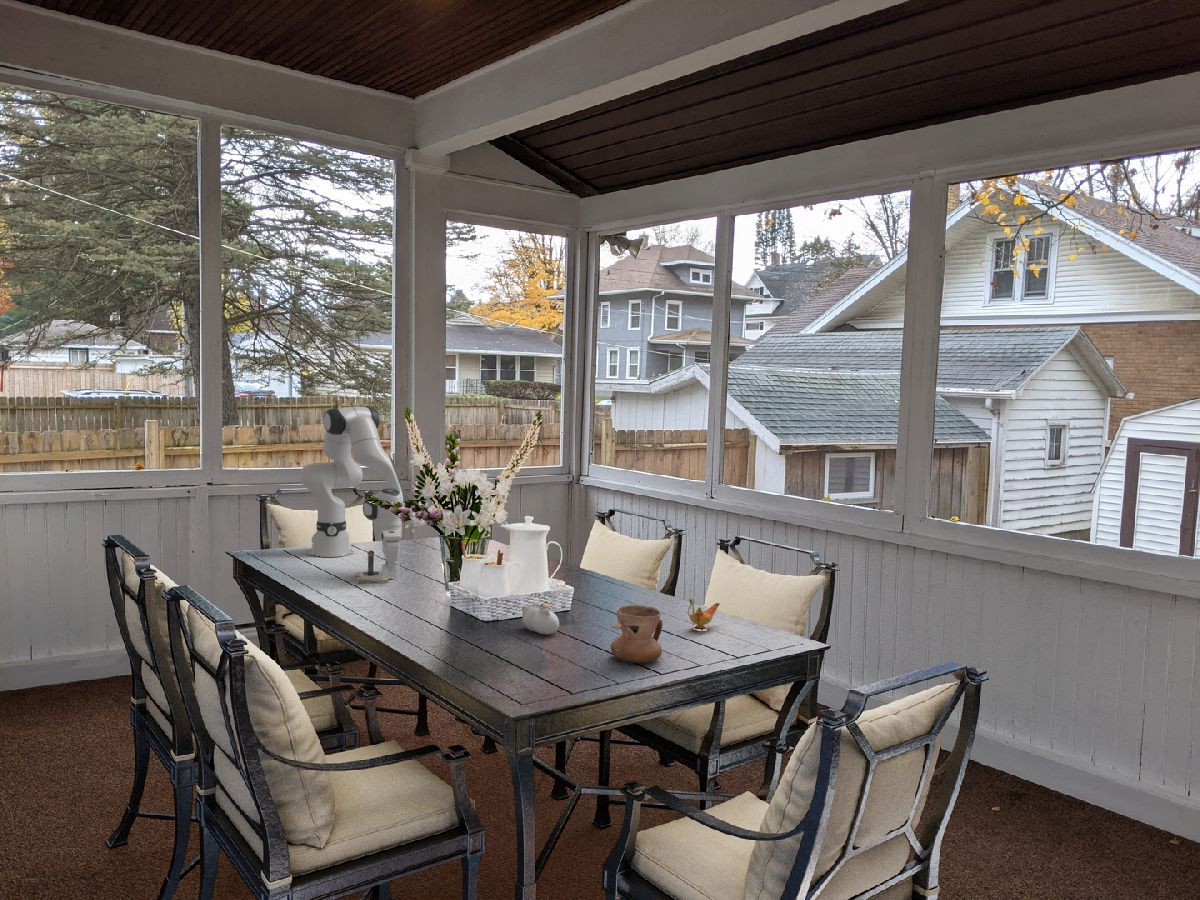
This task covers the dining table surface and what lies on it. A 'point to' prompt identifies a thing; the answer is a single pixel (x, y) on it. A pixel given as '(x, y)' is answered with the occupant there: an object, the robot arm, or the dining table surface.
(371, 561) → the peg stand
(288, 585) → the dining table surface
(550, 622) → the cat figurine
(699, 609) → the magic lamp
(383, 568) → the link
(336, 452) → the robot arm
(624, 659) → the ceramic jug
